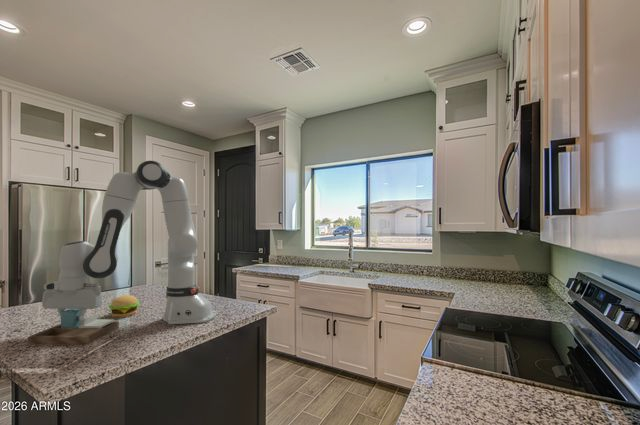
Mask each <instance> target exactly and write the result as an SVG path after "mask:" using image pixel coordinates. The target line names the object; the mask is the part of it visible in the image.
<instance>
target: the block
mask: <svg viewBox="0 0 640 425" xmlns="http://www.w3.org/2000/svg"><path fill="white" fill-rule="evenodd" d="M79 314H80V312H79V309H66V310H65V311H63V312H61V316H60V324H61V328H75V327H77V326H80V325H81V320H76V319H77V318H76V316H78V315H79Z"/></svg>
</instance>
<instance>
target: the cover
mask: <svg viewBox="0 0 640 425" xmlns="http://www.w3.org/2000/svg"><path fill="white" fill-rule="evenodd" d="M97 317H98V314H92V315H89V316H88V317H85V318H84V319H82V320H81V325H80V326H78V328H102V327H104V326H106V325H108V324H110V323H112V322H114V321H115V319H109V318H108V319H106V318H105V319H104V318H103V319H98V318H97Z"/></svg>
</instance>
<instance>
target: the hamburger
mask: <svg viewBox="0 0 640 425" xmlns="http://www.w3.org/2000/svg"><path fill="white" fill-rule="evenodd" d="M140 303H141V302H139V301H138V299H137V298H136V296H133V295H129V294H125V295H124V294H123V295H120V296H117V297H115V298H114V299H113V300H112V301H111V304H110V305H108V309H109V313H110V315H111V316H112V317H113V318H127V317H131V316H134V315H135V314H136V313H137V312H138V309H139V308H140V307H139V305H140Z"/></svg>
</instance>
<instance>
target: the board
mask: <svg viewBox="0 0 640 425" xmlns="http://www.w3.org/2000/svg"><path fill="white" fill-rule="evenodd" d="M119 322H120V321H117V320H114V322H112V323H110V324H108V325H106V326H104V327H102V328H78V326H77V327H75V328H61V323H59V324H57V325H55V326H51V327H50V328H47V329H44V330H41V331H39V332H37V333H34V334H31V335H29V336H27V345H41V346H42V345H59V346H60V345H61V346H62V345H63V346H65V345H67V346H68V345H69V346H70V345H71V346H72V345H73V346H75V345H79V346H80V345H82V346H86V345H89V344H90V343H92V342H94V341H97V340H98V339H100V338H102V337H104V336H105V335H108V334H110V333H112V332H114V331H115V330H118V329H119V325H120V324H119Z"/></svg>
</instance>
